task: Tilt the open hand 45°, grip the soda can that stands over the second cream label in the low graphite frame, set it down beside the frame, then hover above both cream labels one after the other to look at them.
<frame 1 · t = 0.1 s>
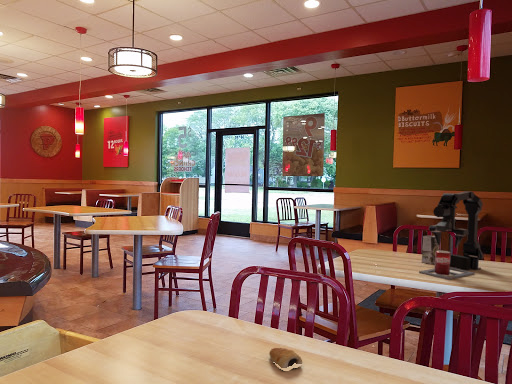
hand: (447, 246, 203), 15 cm above the table, tool pointing down, fingers open, 9 cm apart
label frame: (447, 273, 205), on the table
pastry: (284, 365, 97), on the table
soda can: (441, 274, 202), resting in label frame
coffee box: (430, 262, 233), on the table
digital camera: (459, 268, 220), on the table
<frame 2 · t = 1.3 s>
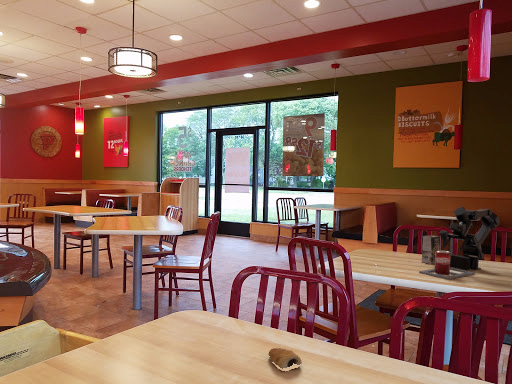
hand: (451, 249, 206), 13 cm above the table, tool tilted 45°, fingers open, 9 cm apart
nothing on the table moved.
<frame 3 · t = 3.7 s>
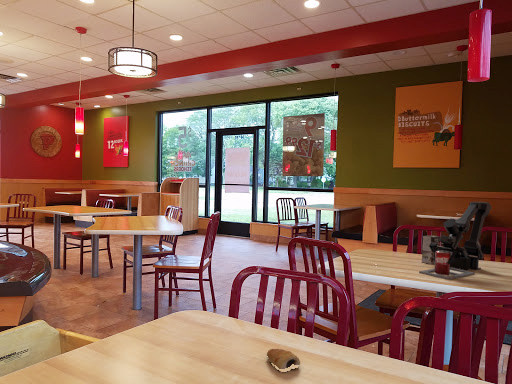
hand: (441, 262, 201), 7 cm above the table, tool tilted 45°, fingers closed on soda can, 7 cm apart
soda can: (441, 274, 202), resting in label frame, touching gripper
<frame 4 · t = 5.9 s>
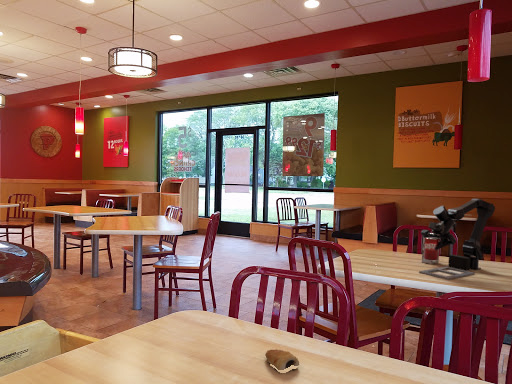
hand: (429, 248, 206), 13 cm above the table, tool tilted 45°, fingers closed on soda can, 7 cm apart
soda can: (430, 260, 207), point 6 cm above the table, touching gripper
when the fingers open (8 cm above the table, at t = 8.3 s): soda can drops 1 cm, on the table.
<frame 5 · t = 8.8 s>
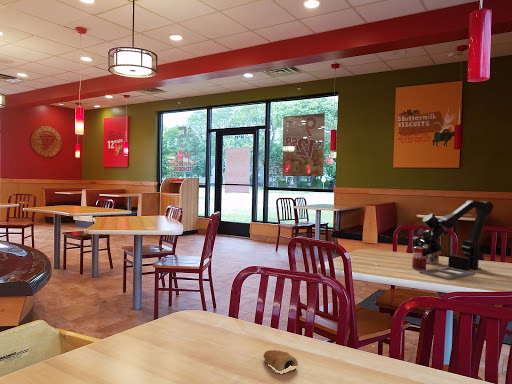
hand: (417, 254, 213), 8 cm above the table, tool tilted 45°, fingers open, 9 cm apart
soda can: (418, 269, 214), on the table
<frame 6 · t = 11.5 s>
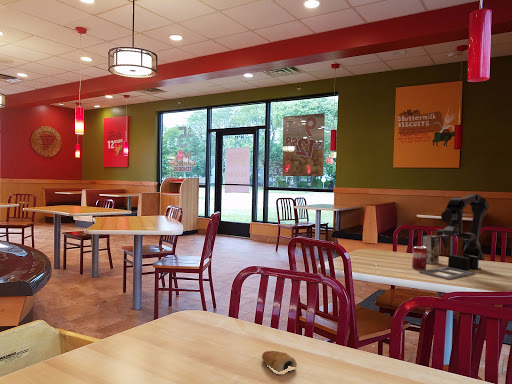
hand: (454, 250, 208), 12 cm above the table, tool pointing down, fingers open, 9 cm apart
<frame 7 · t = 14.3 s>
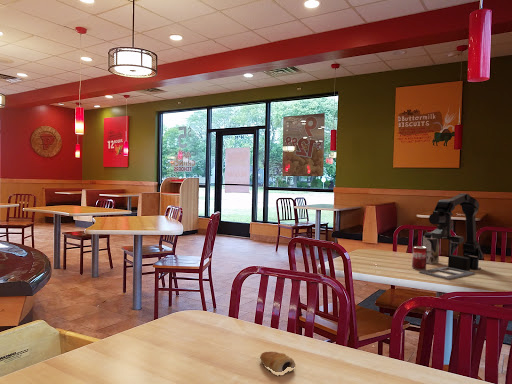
hand: (443, 253, 201), 11 cm above the table, tool pointing down, fingers open, 9 cm apart
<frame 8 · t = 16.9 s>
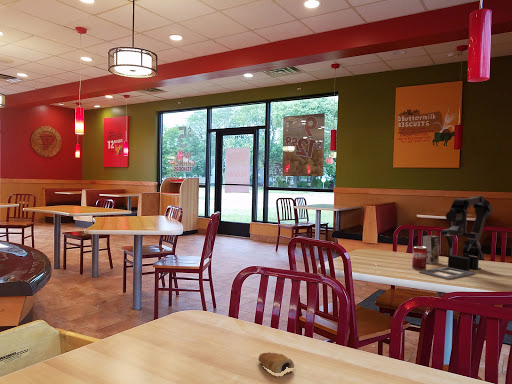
hand: (459, 249, 210), 12 cm above the table, tool pointing down, fingers open, 9 cm apart
at the end: soda can inside the target area (0.2 cm from its centre), on the table; soda can tilted 0°; the gripper is holding nothing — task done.
